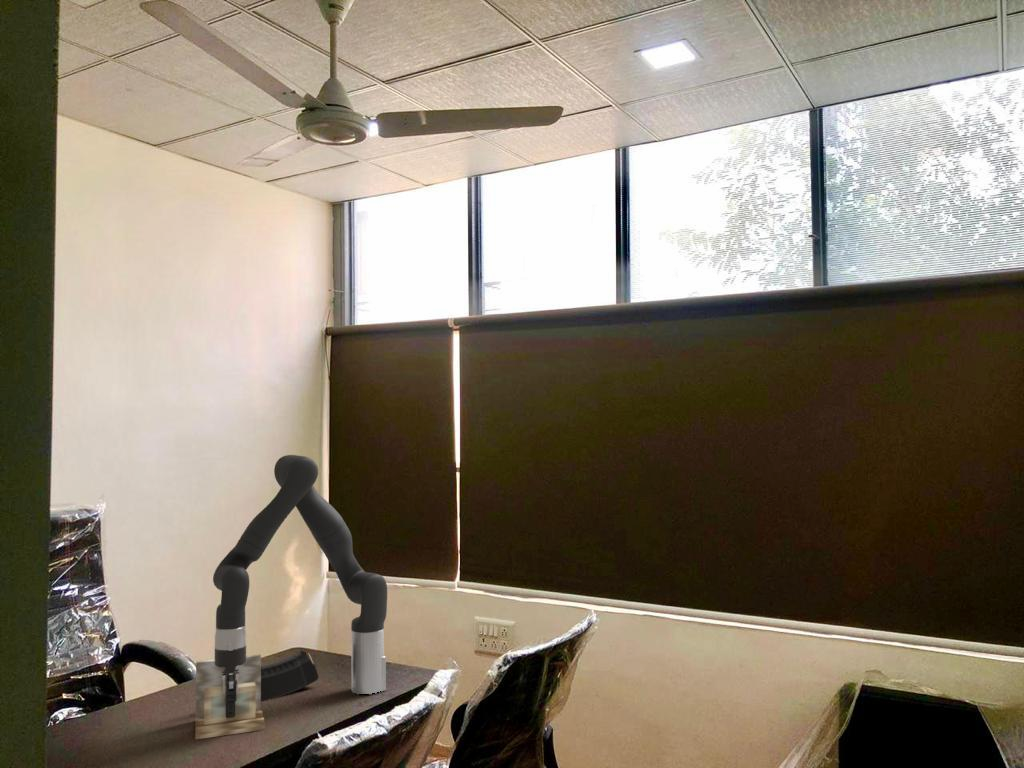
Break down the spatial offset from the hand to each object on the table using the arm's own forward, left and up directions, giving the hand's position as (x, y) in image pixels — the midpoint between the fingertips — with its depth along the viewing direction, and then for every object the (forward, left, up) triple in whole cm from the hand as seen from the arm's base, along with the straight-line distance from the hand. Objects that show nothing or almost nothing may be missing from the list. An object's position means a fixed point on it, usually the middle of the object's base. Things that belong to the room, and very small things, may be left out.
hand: (230, 714), depth 198 cm
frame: (0, 0, -1) cm, 1 cm away
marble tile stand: (0, -4, -4) cm, 5 cm away
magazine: (-11, -21, -4) cm, 24 cm away
